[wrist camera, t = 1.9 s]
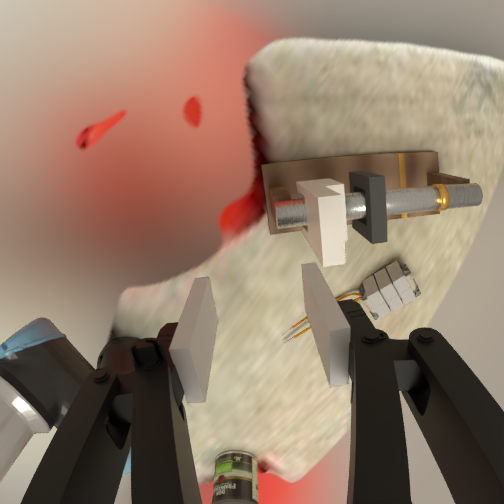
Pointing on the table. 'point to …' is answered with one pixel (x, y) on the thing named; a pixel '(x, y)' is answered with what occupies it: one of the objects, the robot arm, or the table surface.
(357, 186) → the dark gray nut plate
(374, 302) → the electrical component
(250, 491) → the coffee can
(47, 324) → the robot arm
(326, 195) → the white u-shaped bracket
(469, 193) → the steel pipe
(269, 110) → the table surface
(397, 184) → the pipe stand
